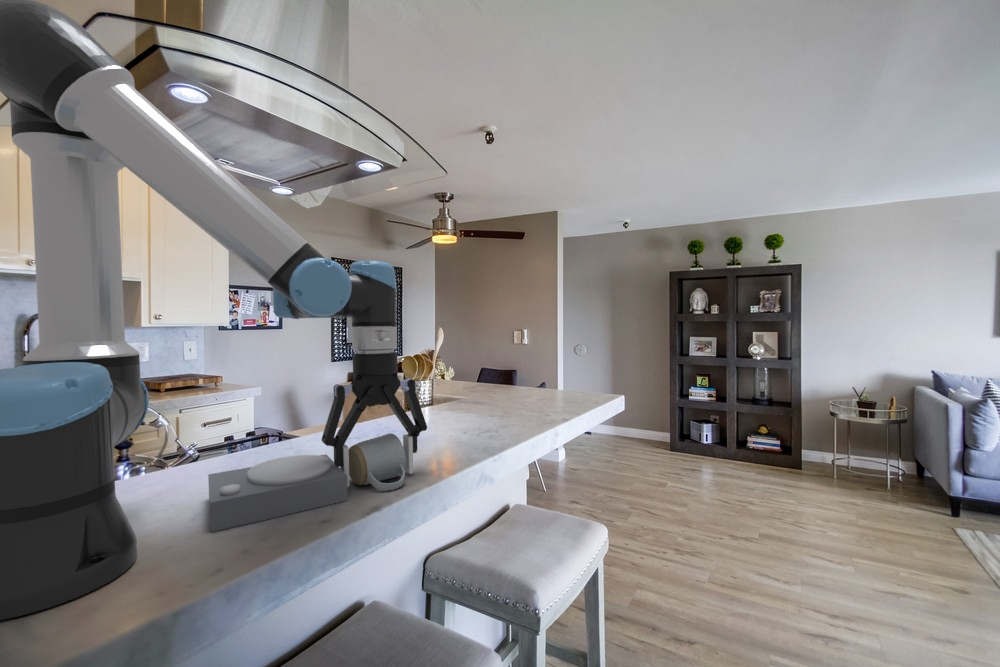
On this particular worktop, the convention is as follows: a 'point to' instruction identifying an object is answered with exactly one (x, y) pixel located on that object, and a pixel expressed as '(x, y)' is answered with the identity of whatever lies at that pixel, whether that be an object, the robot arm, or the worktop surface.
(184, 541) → the worktop surface
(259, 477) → the grey oval-top base
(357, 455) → the ceramic mug
